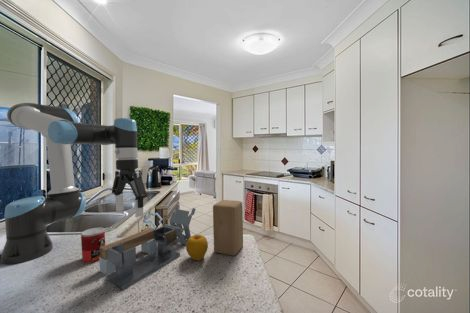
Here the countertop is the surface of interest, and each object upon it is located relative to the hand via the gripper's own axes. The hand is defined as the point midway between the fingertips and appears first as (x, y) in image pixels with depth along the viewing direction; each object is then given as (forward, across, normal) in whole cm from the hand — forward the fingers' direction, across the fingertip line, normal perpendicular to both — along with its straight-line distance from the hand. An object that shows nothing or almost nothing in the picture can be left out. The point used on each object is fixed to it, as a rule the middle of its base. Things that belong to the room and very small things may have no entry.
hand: (129, 213), depth 78 cm
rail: (+13, 0, 0) cm, 13 cm away
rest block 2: (+18, 0, +8) cm, 20 cm away
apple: (+19, +22, +14) cm, 32 cm away
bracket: (+19, +4, +21) cm, 28 cm away
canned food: (+18, -14, -7) cm, 24 cm away
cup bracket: (+18, +10, 0) cm, 21 cm away
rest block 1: (+18, 0, -8) cm, 20 cm away
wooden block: (+19, +29, +26) cm, 43 cm away
